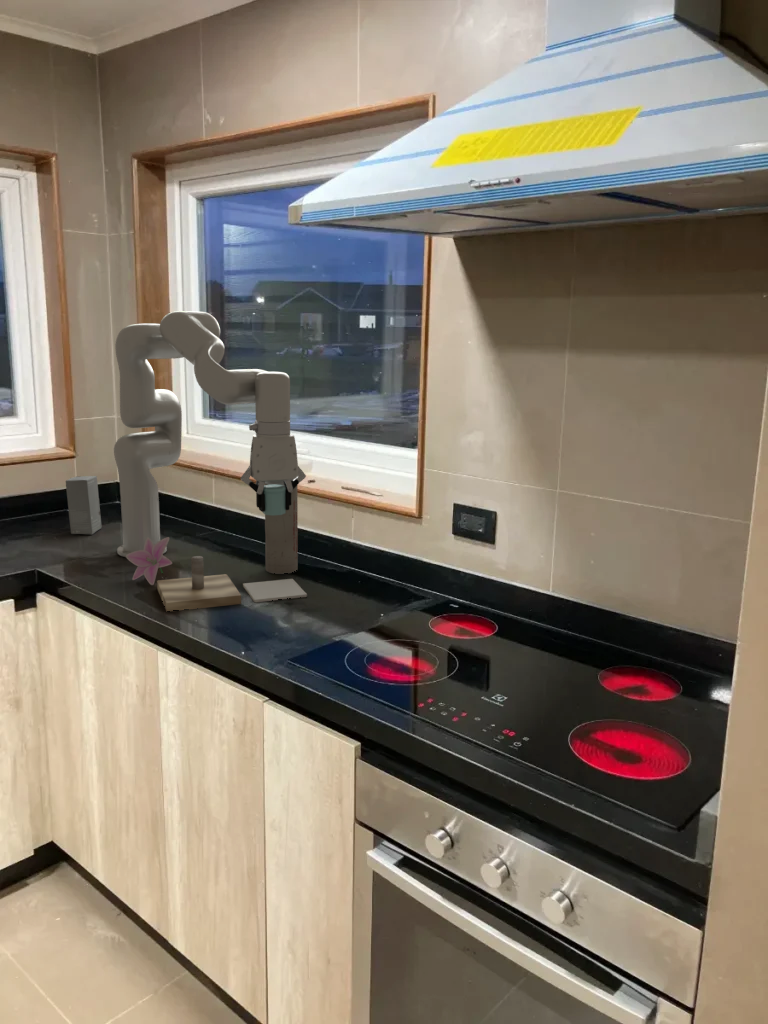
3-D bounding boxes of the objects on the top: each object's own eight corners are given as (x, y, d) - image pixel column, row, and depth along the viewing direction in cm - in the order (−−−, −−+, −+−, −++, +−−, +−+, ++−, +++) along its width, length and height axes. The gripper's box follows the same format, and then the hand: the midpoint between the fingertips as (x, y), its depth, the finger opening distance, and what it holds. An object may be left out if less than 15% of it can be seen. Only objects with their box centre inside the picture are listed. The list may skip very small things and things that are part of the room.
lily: (126, 576, 201) (113, 548, 195) (168, 552, 206) (157, 524, 200) (148, 603, 194) (135, 575, 187) (191, 577, 199) (181, 549, 192)
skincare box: (92, 535, 234) (89, 480, 230) (67, 534, 234) (63, 479, 230) (103, 527, 242) (99, 474, 238) (78, 527, 242) (75, 474, 238)
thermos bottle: (301, 566, 209) (301, 457, 203) (292, 575, 202) (291, 462, 195) (271, 563, 211) (270, 455, 204) (261, 572, 203) (259, 460, 197)
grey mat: (242, 586, 193) (242, 583, 193) (292, 581, 197) (292, 578, 197) (254, 602, 182) (254, 599, 182) (306, 596, 186) (306, 594, 186)
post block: (157, 588, 189) (155, 551, 187) (226, 582, 195) (225, 545, 193) (166, 611, 175) (165, 571, 173) (241, 603, 181) (240, 564, 179)
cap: (265, 516, 182) (265, 489, 181) (259, 511, 187) (259, 485, 185) (288, 514, 184) (288, 488, 182) (282, 509, 188) (282, 483, 187)
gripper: (238, 432, 174) (240, 515, 179) (315, 429, 181) (315, 510, 185) (231, 427, 181) (232, 508, 185) (305, 425, 187) (305, 503, 192)
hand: (274, 508), depth 185 cm, fingers closed on cap, 4 cm apart
